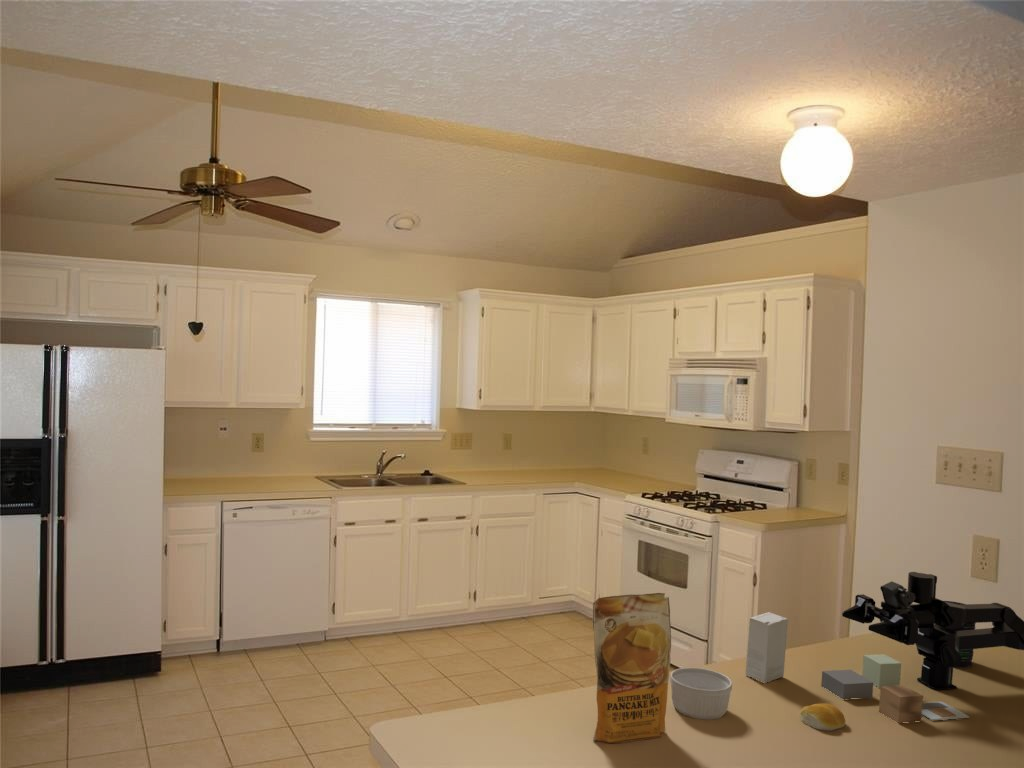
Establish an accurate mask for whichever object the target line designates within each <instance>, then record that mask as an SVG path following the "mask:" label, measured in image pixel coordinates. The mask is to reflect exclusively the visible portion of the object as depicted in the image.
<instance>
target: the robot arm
mask: <svg viewBox="0 0 1024 768" xmlns="http://www.w3.org/2000/svg"><path fill="white" fill-rule="evenodd" d="M937 582H938V576H937V575H935V574H932V573H923V572H918V571H910V572H908V576H907V588H906V587H904V586H903V585H901V584H899V583H897V582H895V581H889V582H887V583H885V584H883V585H881V586H880V591H881V593H882V599H883V601H881V602H880V607H879V606H877V605H876V600H875V599H873V597H870V596H868V595H865V594H857V595H855V601H854V605H853V606H851V607H849V608H847V609H845V610H843V611H842V613H841V616H842V617H843V618H845V619H849V620H852V621H855V622H858V623H860V624H870V625H868V630H869V631H870V632H873V633H876V634H877V635H881V636H883V637H886V638H888V639H891V640H893V641H896V642H898V643H901V644H904V645H906V646H913V645H915V646H916V650H917V653H918V655H919V656H923V661H922V664H921V673H920V677H917V678H916V680H917V681H918V682H920V683H921V684H924V685H926V686H928V687H929V688H932V689H933V690H935V691H942V690H956V689H958V687H957V685H956V684H953V676H954V674H953V673H954V668H956V667H955V666H959V665H960V663H961V660H962V657H961V656H960V654H959V653H958V651H960V650H969V649H973V650H979V649H989V648H990V649H991V648H999V647H1005V648H1010V649H1013V650H1014V649H1015V650H1019V651H1024V620H1023V619H1022V618H1021V617H1020V616H1019V615H1018V614H1017V613H1016V612H1015V610H1014V609H1012V608H1011V606H1008V605H1005V604H1002V603H999V602H991V603H973V604H969V603H968V604H966V603H963V604H964V605H957V604H952V603H948V602H945V601H946V600H942V599H939V598H937V597H936V593H937V592H936V591H937ZM913 603H914V604H913ZM876 618H877V619H878V620H879V621H880V622H877V623H873V621H874V620H875V619H876ZM966 623H976V624H977V623H991V624H992V625H991V626H993V627H989V628H986V627H985V628H977V629H976V628H975V629H974V630H963V631H954V630H952V629H956V628H960V627H962V626H963V625H964V624H966Z"/></svg>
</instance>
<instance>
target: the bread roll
mask: <svg viewBox="0 0 1024 768" xmlns="http://www.w3.org/2000/svg"><path fill="white" fill-rule="evenodd" d="M799 718H800V719H801V722H802V723H804V724H806V725H808V726H809V727H811V728H813V729H816V730H820V731H835V730H838V729H843V728H844V727H845V726H846V718H845V716H844V713H843V712H842V711H841V710H840V708H838V707H836V706H835V705H833V704H830V703H814V704H811V705H806V706H804V707H803V708H802V709H801V710H800V713H799Z"/></svg>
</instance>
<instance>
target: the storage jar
mask: <svg viewBox="0 0 1024 768" xmlns="http://www.w3.org/2000/svg"><path fill="white" fill-rule="evenodd" d="M944 601H945V602H948V603H952V604H957V605H964V604H965V603H962V602H958V601H957V602H956V601H953V600H952V601H950V600H944ZM976 624H977V623H966V624H964V625H963V626H962V627H960V628H956V629H952V630H954V631H963V630H974V629H976ZM958 653H959V654H960V656H961V657H962V660H961V663H960V665H959V666H955V667H954V668H960V669H963V668H964V669H965V668H967V669H969V668H971V667H972V665H973V661H972V660H973V657H974V649H969V650H960V651H958Z"/></svg>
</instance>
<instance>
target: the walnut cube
mask: <svg viewBox="0 0 1024 768" xmlns="http://www.w3.org/2000/svg"><path fill="white" fill-rule="evenodd" d="M923 699H924V695H922V694H920V693H919V692H917V691H915V690H913V689H912V688H910V687H908V686H907V685H904V684H900V685H890V686H881V688H880V691H879V704H878V705H879V706H878V713H879V712H880V713H879V714H881V713H882V714H881V715H883V714H884V715H885V716H884V715H883V716H884V717H886V716H887V717H886V718H888V717H889V718H891V719H892V720H894V721H896V722H897V723H903V722H915V721H921V722H922V703H924V702H923V701H924V700H923ZM889 718H888V719H889ZM891 719H890V720H891ZM892 720H891V721H892ZM894 721H893V722H894ZM896 722H895V723H896ZM897 723H896V724H897Z"/></svg>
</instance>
